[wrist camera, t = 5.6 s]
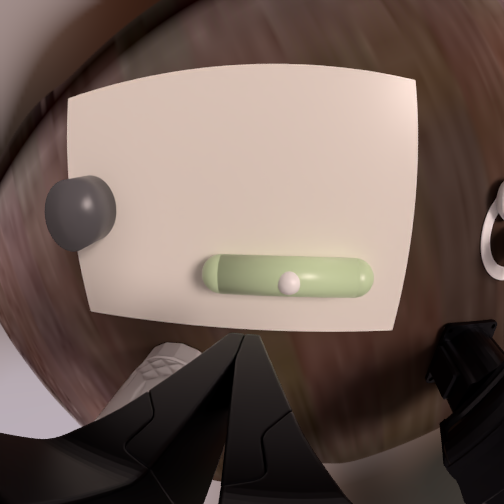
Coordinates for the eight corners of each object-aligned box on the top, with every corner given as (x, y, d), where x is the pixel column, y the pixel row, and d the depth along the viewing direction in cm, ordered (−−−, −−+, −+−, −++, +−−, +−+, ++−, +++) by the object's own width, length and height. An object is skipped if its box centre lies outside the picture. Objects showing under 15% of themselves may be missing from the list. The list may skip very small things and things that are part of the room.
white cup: (216, 337, 23) (175, 433, 13) (230, 401, 25) (205, 487, 16) (135, 333, 24) (75, 406, 14) (157, 393, 26) (118, 465, 17)
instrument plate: (407, 84, 11) (434, 69, 8) (387, 320, 15) (403, 352, 12) (75, 101, 13) (41, 96, 10) (95, 303, 17) (69, 326, 14)
